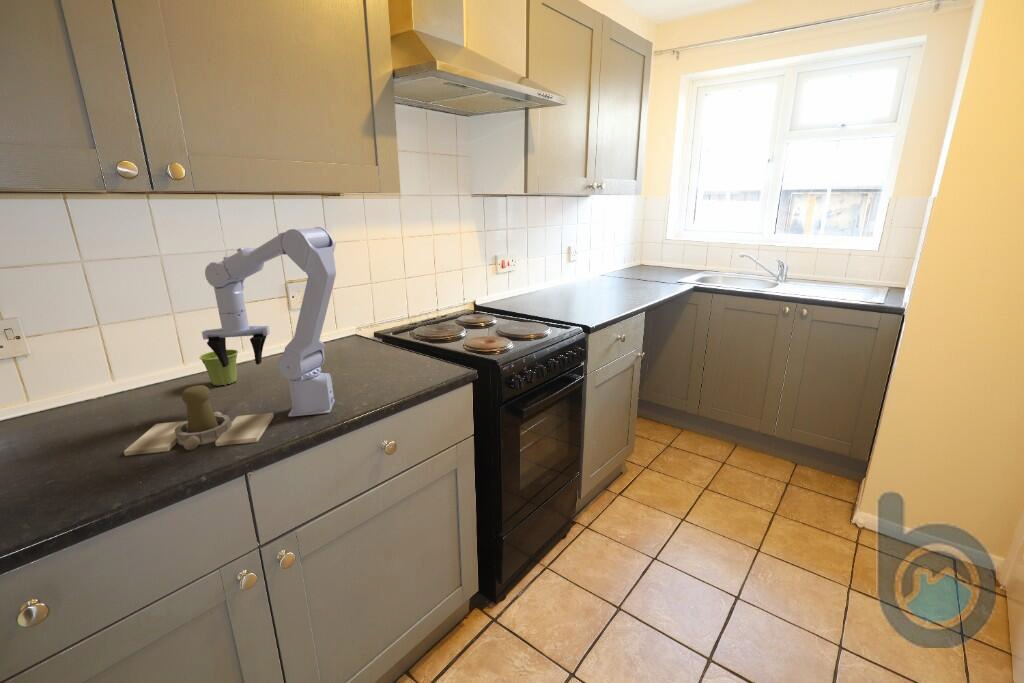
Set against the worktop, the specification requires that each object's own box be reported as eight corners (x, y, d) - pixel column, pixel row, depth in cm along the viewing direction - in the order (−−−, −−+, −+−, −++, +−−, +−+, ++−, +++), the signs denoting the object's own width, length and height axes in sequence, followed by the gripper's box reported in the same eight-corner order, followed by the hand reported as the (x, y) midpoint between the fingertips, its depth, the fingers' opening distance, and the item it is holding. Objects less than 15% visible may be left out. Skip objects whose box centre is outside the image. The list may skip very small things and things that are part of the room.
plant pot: (204, 382, 138) (197, 353, 136) (240, 374, 144) (235, 347, 141) (207, 391, 131) (201, 361, 129) (246, 383, 136) (240, 354, 134)
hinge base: (274, 415, 115) (273, 405, 114) (256, 443, 101) (254, 432, 101) (158, 426, 110) (156, 416, 110) (122, 457, 97) (119, 446, 96)
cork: (190, 442, 102) (179, 394, 99) (187, 432, 107) (176, 386, 104) (222, 434, 106) (212, 387, 103) (218, 425, 110) (208, 380, 107)
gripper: (269, 306, 121) (277, 357, 125) (206, 309, 118) (217, 361, 122) (260, 312, 114) (270, 365, 118) (194, 316, 112) (205, 370, 115)
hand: (242, 364), depth 120 cm, fingers open, 7 cm apart
